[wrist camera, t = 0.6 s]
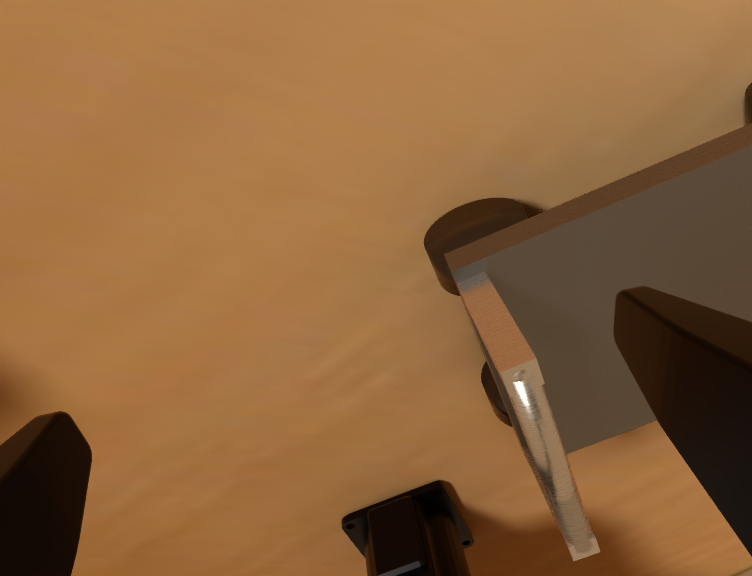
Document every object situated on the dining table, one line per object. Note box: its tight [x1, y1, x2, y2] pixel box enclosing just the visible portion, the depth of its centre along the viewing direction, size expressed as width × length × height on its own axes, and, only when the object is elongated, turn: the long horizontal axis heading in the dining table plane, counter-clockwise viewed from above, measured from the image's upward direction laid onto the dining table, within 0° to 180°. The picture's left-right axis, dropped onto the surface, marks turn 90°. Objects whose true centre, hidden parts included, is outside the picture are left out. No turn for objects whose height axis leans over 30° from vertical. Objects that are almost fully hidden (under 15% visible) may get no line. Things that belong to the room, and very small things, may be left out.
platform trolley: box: [424, 83, 752, 561], centre depth 20 cm, size 11×17×10 cm, turn 113°
